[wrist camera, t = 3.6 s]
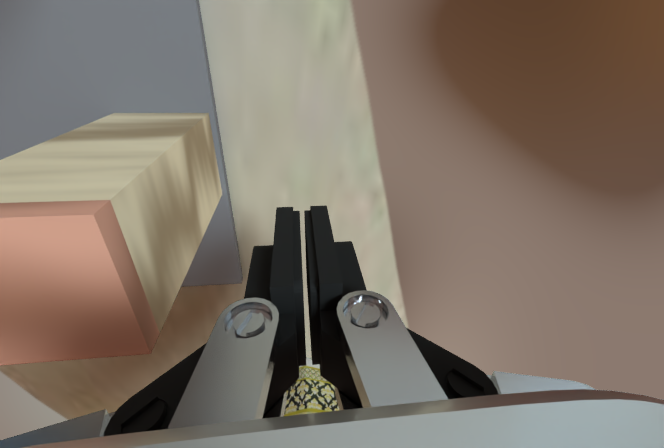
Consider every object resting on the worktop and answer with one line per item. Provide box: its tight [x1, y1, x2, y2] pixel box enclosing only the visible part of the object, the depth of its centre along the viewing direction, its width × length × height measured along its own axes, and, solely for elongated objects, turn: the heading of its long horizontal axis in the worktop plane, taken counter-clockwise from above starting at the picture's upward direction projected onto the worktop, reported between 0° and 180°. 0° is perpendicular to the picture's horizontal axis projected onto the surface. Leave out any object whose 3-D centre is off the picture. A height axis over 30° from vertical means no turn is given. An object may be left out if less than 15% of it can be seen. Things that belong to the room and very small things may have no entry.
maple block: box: [0, 113, 222, 365], centre depth 14 cm, size 5×5×12 cm
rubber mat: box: [0, 0, 243, 287], centre depth 18 cm, size 20×16×1 cm
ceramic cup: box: [284, 358, 339, 416], centre depth 28 cm, size 13×10×10 cm
